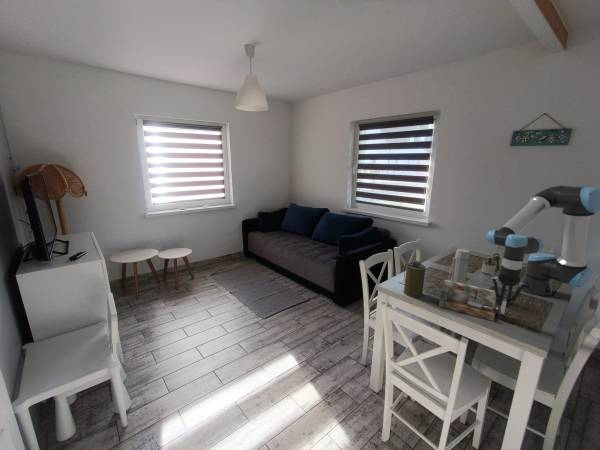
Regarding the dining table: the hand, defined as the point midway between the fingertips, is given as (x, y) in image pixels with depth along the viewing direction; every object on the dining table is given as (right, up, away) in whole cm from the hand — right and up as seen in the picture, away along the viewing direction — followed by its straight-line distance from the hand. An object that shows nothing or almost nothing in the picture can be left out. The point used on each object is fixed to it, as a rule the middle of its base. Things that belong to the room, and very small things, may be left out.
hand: (502, 312), depth 130 cm
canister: (-33, +2, +25) cm, 42 cm away
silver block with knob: (-6, -1, +5) cm, 8 cm away
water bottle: (-5, +3, +31) cm, 32 cm away
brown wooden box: (-12, -1, +9) cm, 15 cm away
